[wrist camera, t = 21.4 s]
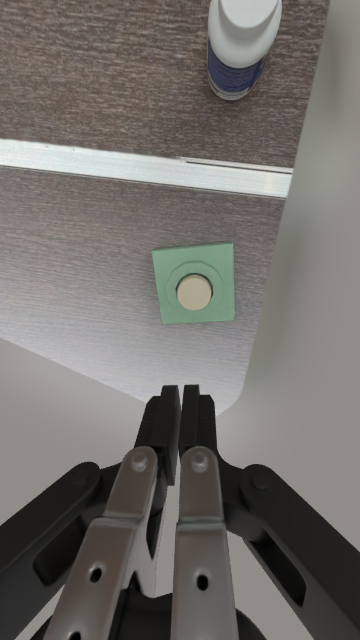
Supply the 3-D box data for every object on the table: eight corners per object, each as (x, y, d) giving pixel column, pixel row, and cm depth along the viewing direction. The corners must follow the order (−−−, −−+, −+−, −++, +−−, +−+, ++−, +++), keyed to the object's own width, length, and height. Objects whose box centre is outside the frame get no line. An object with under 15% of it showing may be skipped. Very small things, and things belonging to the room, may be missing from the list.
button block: (231, 241, 31) (235, 245, 27) (233, 314, 35) (236, 326, 31) (154, 248, 32) (148, 253, 28) (164, 318, 36) (159, 330, 32)
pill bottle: (260, 98, 25) (291, 35, 16) (207, 105, 26) (210, 48, 17) (262, 25, 23) (300, -93, 14) (205, 35, 24) (207, -72, 15)
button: (209, 273, 29) (210, 276, 28) (211, 304, 31) (212, 309, 29) (176, 275, 30) (175, 279, 28) (180, 306, 31) (178, 311, 30)
